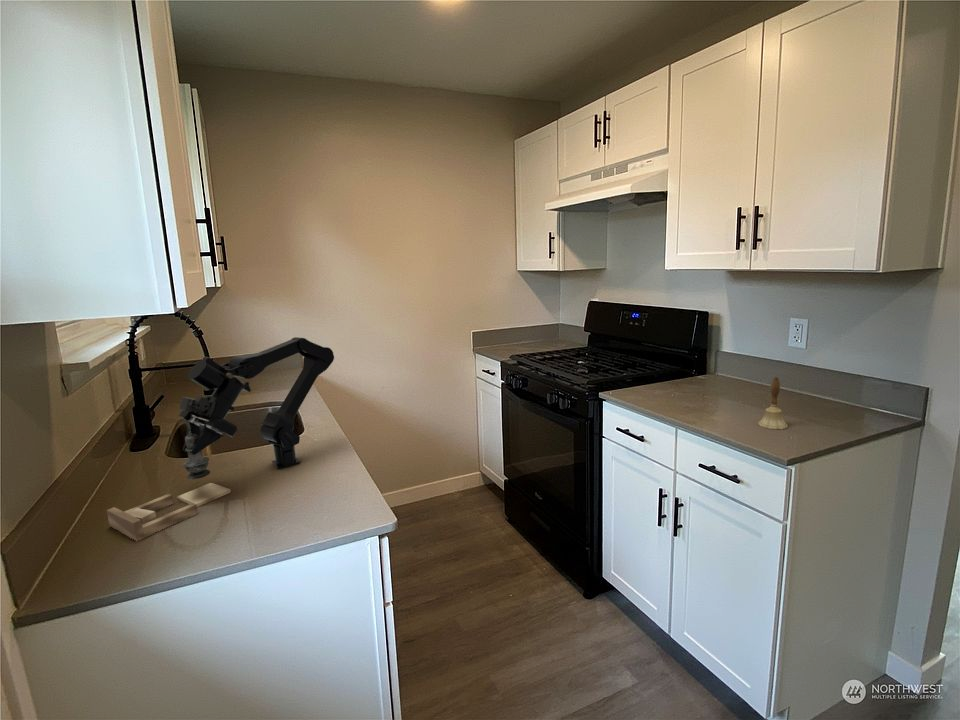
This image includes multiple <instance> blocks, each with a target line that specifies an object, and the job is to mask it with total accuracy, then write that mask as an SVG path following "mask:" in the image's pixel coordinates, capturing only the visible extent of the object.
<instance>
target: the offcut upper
mask: <svg viewBox="0 0 960 720" xmlns="http://www.w3.org/2000/svg"><path fill="white" fill-rule="evenodd" d="M128 514H130V515H132V516H134V517H136V518H138V519H140V520H141V522H142V525H143V524H146V523H148V522H150V521H153V520H155V519H157V515H156V511H150V510H145V509H139V508H136V509H134V510H132V511H130V512H128Z"/></svg>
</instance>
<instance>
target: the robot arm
mask: <svg viewBox="0 0 960 720" xmlns="http://www.w3.org/2000/svg"><path fill="white" fill-rule="evenodd" d="M297 354H299V355H300V356H301V357H303V360H302V370H301V372H300V373H299V375H298V377H297V378H296V379H295V381H294V383H293V385H292V387H291V389H290V390H289V392H288V394H287V395H286V397H285V399H284V400H283V402H282V403H281V406H279V408H278V409H277V410H276V411H275V412H272V411H268V412H267V414H266V416H265V418H264V419H263V421H262V422H261V423H260V425H261V426H260V433H261V437H262V438H263V439H265V440H266V442H267V443H268V444H269V445H270V444H271V445H273V452H274V454H273V455H274V460H272V461H271V463H272V464H273V466H275V467H276V468H277V469H283V468H286V467H291V466H294V465H297V464H301V460H300V459H298V458H297V457H296V447H295V446H296V445H299V444H300V439H301V436H300V435H299V434H297V433H295V432H293V431H294V428H295V417H296V415H297V413H298V411H299V409H300V408H301V406H302V404H303V403H304V401H305V399H306V398H307V396H308V394H309V392H310V391H311V389H312V387H313V385H314V384H315V382H316V380H317V378H318V377H319V376H320V375H321V374H323V373H324V372H325V371H327V370H328V369H329V367H330V366H331V365H332V363H333V362H334V360H335V356H334V352H333V350H332V348H330V347H327V346H326V347H325V346H322V345H319V344H316V343H314V342H313V341H310V340H308V339H307V338H305V337H292V338H291V339H289V340H286V341H283V342H281V343H278V344H277V345H274V346H272V347H269V348H267V349H264V350H262V351H259V352H254V353H245V354H240V355H235V356H233V357H231V358H230V359H229V361H228V362H226V363H222V364H219V363H217V362H216V361H214V359H213V358H210V357H208V356H203V357H202V360H199V361H198V362H197V363H195V364H194V366H192V367H191V368H190V370H189V372H188V375H187V376H188V377H187V378H188V379H189V380H191V381H193V382H194V383H195V384H197V385H199V386H201V387H203V388H204V389H206V390H208V391H211V390H214V391H213V393H211V395H207V396H205V397H204V396H197V397H196V398H193V397H186V396H182V397H181V400H180V403H179V407H178V410H180V413H179V415H178V417H179V418H181V419H182V420H184V423H185V424H186V427H187V431H186V436H187V435H188V434H189V431H191V433H193V434H196V435H197V436H198V438H197V440H196V442H195V444H194V446H193V448H192V451H191V454H193V455H195V454H197V453H198V452H200V451H201V452H202V451H203V450H204V449H206V448H207V447H208V446H210V445H211V444H213V443H215V442H216V441H218V440H219V439H222V438H224V437H225V435H226V436H228V437H231V438H234V437H235V435H236V434H237V432H238V428H237V427H238V426H237V425H236V424H234V423H232V422H230V421H228V420H226V419H225V418H226V417H227V415H228V414H229V412H234V410H235V407H234V404H235V402H236V400H237V399H238V398H239V396H240V394H241V393H242V392H248V393H251V391H252V390H251V387H250V382H249V381H247V380H250V379H254V378H255V377H257V376H258V375H260V374H261V373H262V372H264V371H265V369H266V368H267V367H268V366H271V365H273V364H275V363H278V362H279V361H283V360H285V359H287V358H289V357H292V356H295V355H297ZM227 375H228V376H227ZM229 376H233V377H229ZM240 379H245V380H243V381H242V380H240ZM181 410H182V411H181ZM223 433H225V435H223ZM186 448H187V446H186V441H185V440H184V444H183V448H182V451H184V452H186V453H187V451H186V450H185V449H186Z"/></svg>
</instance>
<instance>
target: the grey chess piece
mask: <svg viewBox="0 0 960 720" xmlns="http://www.w3.org/2000/svg"><path fill="white" fill-rule="evenodd" d="M197 438H198V436H197V435H196V434H193V433H191V431H189V434H188V435H187V434H186V436H185V437H184V442H185V441H186V446H187V448H186V449H185V450H186V451H187V452H186V453H187V458H188V459H187V461H184V463H183V464H182V465H183V467H184V468H185V470H186V471H187V472H188V473H189V474H188V475H187V476H186V478H187V480H198V479H203V478H205V477H207V476H209V475H210V474H211V471H210V470H209V469H207V468H208V467H209V461H210V458H209V457H207V456H203V454H202V450H201V451H200V452H198V453H197V454H195V455H193V454H191V451H192V448H193V446H194V444H195V442H196V440H197Z"/></svg>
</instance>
